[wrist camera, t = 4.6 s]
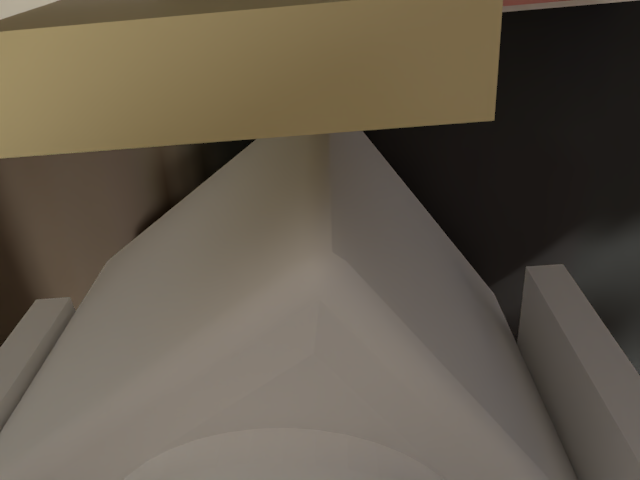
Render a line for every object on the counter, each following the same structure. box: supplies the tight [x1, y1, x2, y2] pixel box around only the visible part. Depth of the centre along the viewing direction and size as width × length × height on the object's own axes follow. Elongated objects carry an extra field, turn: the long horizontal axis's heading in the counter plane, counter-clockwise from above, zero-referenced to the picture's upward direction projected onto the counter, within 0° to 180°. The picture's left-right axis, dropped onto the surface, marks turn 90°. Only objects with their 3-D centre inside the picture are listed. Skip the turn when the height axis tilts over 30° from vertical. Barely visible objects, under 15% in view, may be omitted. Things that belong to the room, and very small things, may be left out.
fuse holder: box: [0, 0, 638, 158], centre depth 12 cm, size 14×15×7 cm
